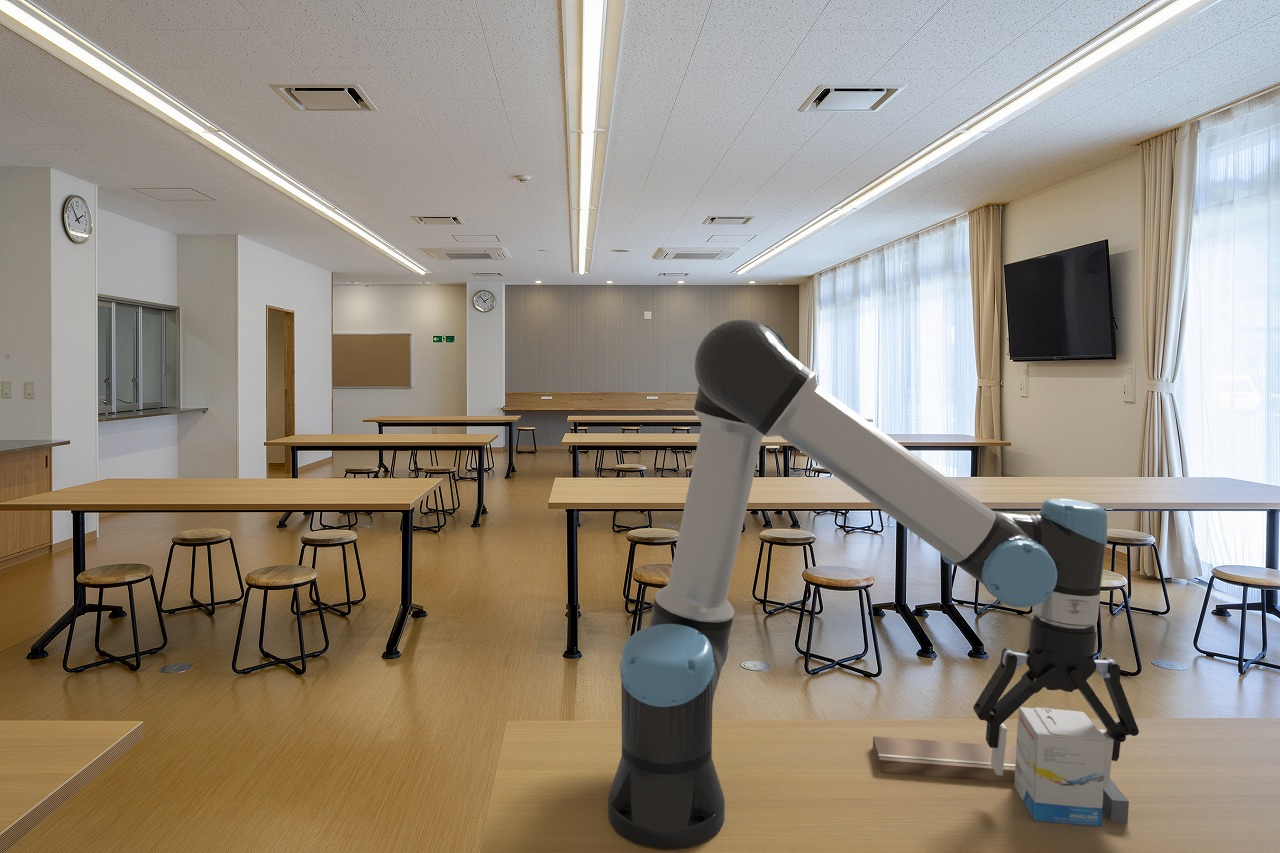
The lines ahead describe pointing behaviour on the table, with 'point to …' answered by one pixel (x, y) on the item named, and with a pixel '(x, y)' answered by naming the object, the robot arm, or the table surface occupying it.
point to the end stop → (1115, 804)
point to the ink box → (1060, 766)
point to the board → (941, 759)
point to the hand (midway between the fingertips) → (1048, 776)
